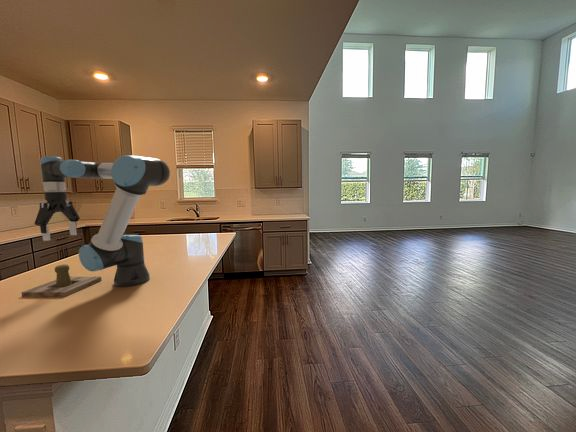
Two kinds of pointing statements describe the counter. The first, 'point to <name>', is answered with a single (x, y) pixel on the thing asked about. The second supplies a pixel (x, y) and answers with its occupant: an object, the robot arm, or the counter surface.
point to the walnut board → (52, 291)
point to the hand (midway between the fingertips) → (61, 237)
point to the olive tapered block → (62, 276)
